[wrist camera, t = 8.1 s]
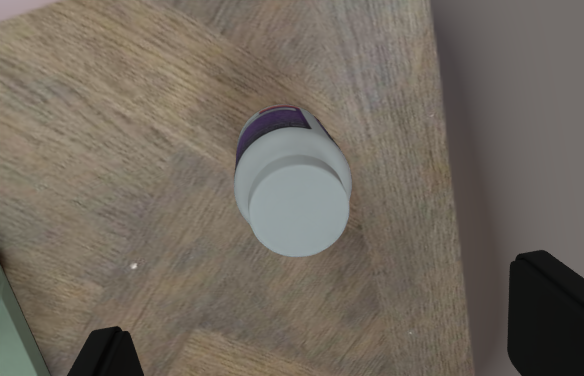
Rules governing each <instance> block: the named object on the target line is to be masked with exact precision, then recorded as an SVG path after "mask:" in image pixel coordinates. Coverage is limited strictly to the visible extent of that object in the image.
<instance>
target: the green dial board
mask: <svg viewBox="0 0 584 376" xmlns="http://www.w3.org/2000/svg"><path fill="white" fill-rule="evenodd" d="M0 376H50V373H49V371H48V369H47V367H46V365H45V362H44V360H43V358H42V356H41V353H40V351H39V349H38V347H37V345H36V342H35V340H34V338H33V336H32V333H31V331H30V329H29V327H28V325H27V322H26V320H25V318H24V316H23V314H22V311H21V309H20V307H19V305H18V302H17V300H16V298H15V296H14V294H13V291H12V289H11V287H10V285H9V283H8V280H7V278H6V276H5V274H4V271H3V269H2V267H1V265H0Z"/></svg>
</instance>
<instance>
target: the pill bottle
mask: <svg viewBox="0 0 584 376" xmlns="http://www.w3.org/2000/svg"><path fill="white" fill-rule="evenodd" d="M351 190H352V177H351V171H350V168H349V165H348V162H347V160H346V158H345V156H344V154H343V153H342V151H341V150H340V148H339V147H338V145H337V144H336V143H335V142H334V140H333V139H332V138H331V136H330V135H329V134H328V132H327V131H326V129H325V128H324V127H323V126H322V124H321V123H320V122H319V120H317V119H316V118H315V117H314V116H313V115H312V114H311V113H309V112H308V111H306V110H305V109H302V108H300V107H297V106H293V105H287V104H279V105H272V106H269V107H266V108H264V109H262V110H260V111H258V112H257V113H255V114H254V115H253V116H252V117H251V118H250V119H249V120H248V121H247V122H246V124H245V125H244V127H243V129H242V131H241V133H240V136H239V139H238V144H237V154H236V166H235V175H234V194H235V199H236V203H237V205H238V208H239V210H240V212H241V214H242V215H243V217H244V218H245V220H246V221H247V222H248V223H249V224H250V225H251V228H252V230H253V232H254V234H255V235H256V237H257V238H258V240H259V241H260V242H261V243H262V244H263V245H264V246H265V247H267V248H268V249H270V250H271V251H273V252H275V253H278V254H281V255H284V256H289V257H305V256H310V255H314V254H317V253H319V252H321V251H323V250H325V249H326V248H328V247H329V246H331V245H332V244H333V243H334V242H335V241H336V240H337V239H338V238H339V237H340V235H341V234H342V233H343V231H344V229H345V227H346V224H347V221H348V218H349V199H350V196H351Z"/></svg>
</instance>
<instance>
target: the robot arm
mask: <svg viewBox="0 0 584 376" xmlns="http://www.w3.org/2000/svg"><path fill="white" fill-rule="evenodd" d="M507 350H508V355H509V358H510V360H511V362H512V364H513V365H514V367H515V368H516V369H517V371H518V372H519V373H520V374H521V375H522V376H584V278H583V277H581V276H580V275H578V274H577V273H575V272H574V271H573V270H571V269H570V268H569V267H567V266H566V265H564V264H563V263H562V262H560V261H559V260H558V259H556V258H555V257H553V256H552V255H551V254H549V253H548V252H546V251H544V250H539V251H533V252H528V253H523V254H519V255H517V257H516V259H515V261H513V262H511V264H510V278H509V312H508V347H507ZM67 376H144V374H143V371H142V368H141V365H140V362H139V359H138V356H137V353H136V350H135V347H134V344H133V341H132V338H131V335H130V333H129V332H128V331H122V329H121V328H120V327H118V326H115V327H109V328H104V329H98V330H94V331H92V332H91V333H90V335H89V337H88V338H87V340H86V342H85V344H84V346H83V348H82V349H81V351H80V353H79V355H78V357H77V359H76V360H75V362H74V364H73V366H72V368H71V370H70V371H69V373H68V375H67Z"/></svg>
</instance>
